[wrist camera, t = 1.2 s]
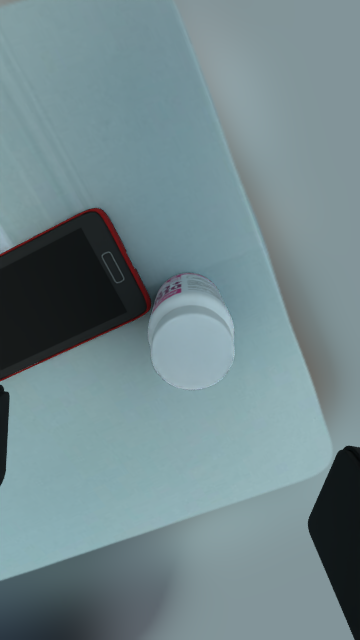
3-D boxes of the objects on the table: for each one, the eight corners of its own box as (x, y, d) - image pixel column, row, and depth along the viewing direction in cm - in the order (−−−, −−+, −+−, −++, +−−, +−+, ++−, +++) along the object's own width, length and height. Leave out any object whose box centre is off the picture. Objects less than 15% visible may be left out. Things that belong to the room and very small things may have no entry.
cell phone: (156, 307, 22) (155, 311, 22) (-13, 384, 24) (-21, 391, 23) (102, 202, 20) (99, 202, 19) (-80, 297, 22) (-91, 300, 21)
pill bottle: (169, 260, 22) (165, 288, 14) (232, 286, 22) (262, 327, 14) (145, 321, 23) (127, 378, 15) (204, 344, 24) (218, 410, 16)
